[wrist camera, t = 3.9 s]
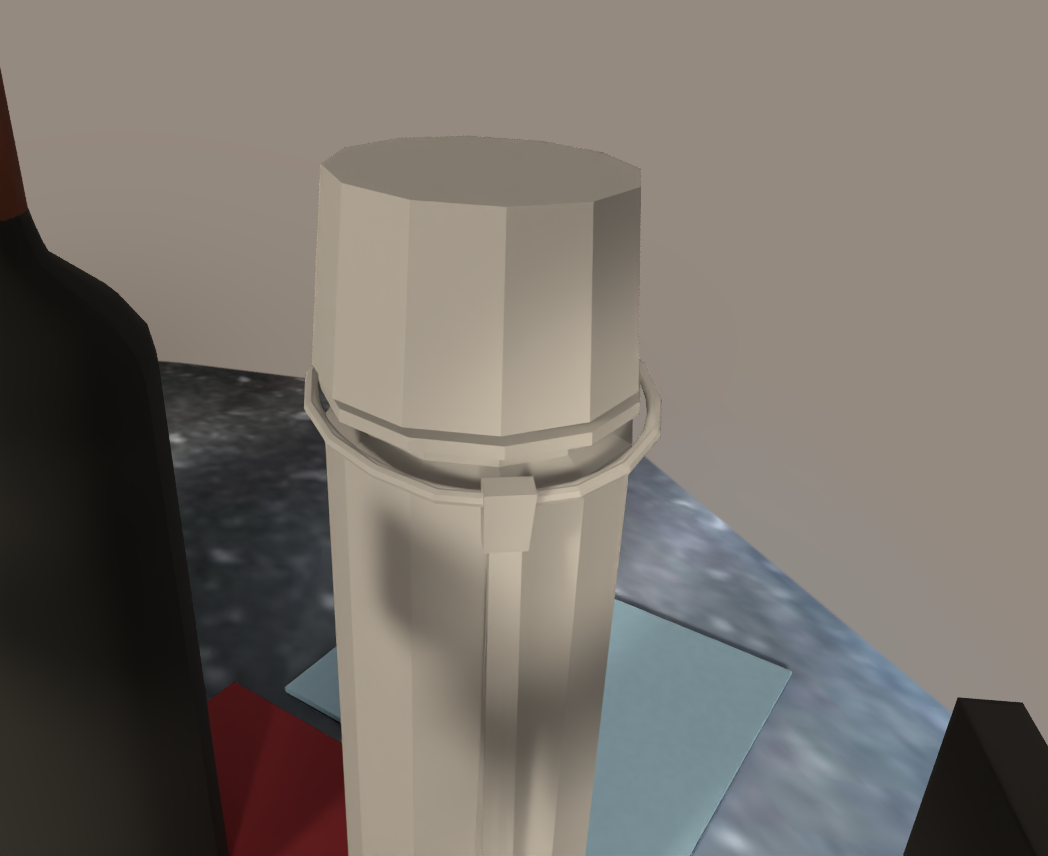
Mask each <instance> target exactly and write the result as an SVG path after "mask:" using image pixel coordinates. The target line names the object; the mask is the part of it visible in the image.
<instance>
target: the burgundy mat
mask: <svg viewBox="0 0 1048 856" xmlns="http://www.w3.org/2000/svg"><path fill="white" fill-rule="evenodd" d="M207 706H208V713H209V720H210V727H211V734H212V741H213V748H214V755H215V762H216V769H217V776H218V783H219V790H220V797H221V804H222V811H223V818H224V825H225V832H226V839H227V846H228V853H229V856H348V838H347V820H346V803H345V785H344V767H343V749H342V743H340V742H339V741H337V740H335V739H333V738H332V737H330V736H328V735H326V734H325V733H323V732H321V731H319V730H318V729H316V728H314V727H312V726H311V725H309V724H307V723H305V722H304V721H302V720H300V719H299V718H297V717H295V716H293V715H292V714H290V713H288V712H286V711H285V710H283V709H281V708H279V707H278V706H276V705H274V704H272V703H271V702H269V701H267V700H265V699H264V698H262V697H260V696H259V695H257V694H255V693H253V692H252V691H250V690H248V689H246V688H245V687H243V686H241V685H239V684H238V683H236V682H233V683H232V684H231V685H229V686H228V687H226V688H225V689H224V690H222V691H221V692H220V693H218V694H217V695H216V696H214V697H213V698H212V699H210V700H209V701H208V702H207Z"/></svg>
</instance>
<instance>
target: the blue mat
mask: <svg viewBox="0 0 1048 856" xmlns="http://www.w3.org/2000/svg"><path fill="white" fill-rule="evenodd" d="M791 674H792V671H790V670H787V669H785V668H783V667H780V666H778V665H775V664H773V663H770V662H768V661H765V660H763V659H761V658H758V657H756V656H753V655H751V654H748V653H746V652H744V651H741V650H739V649H736V648H734V647H731V646H729V645H726V644H724V643H722V642H719V641H717V640H714V639H712V638H709V637H707V636H704V635H702V634H700V633H697V632H695V631H692V630H690V629H687V628H685V627H682V626H680V625H678V624H675V623H673V622H670V621H668V620H665V619H663V618H661V617H658V616H656V615H653V614H651V613H648V612H646V611H643V610H641V609H639V608H636V607H634V606H631V605H629V604H626V603H624V602H621V601H619V600H617V599H614V608H613V617H612V625H611V634H610V643H609V652H608V660H607V669H606V678H605V687H604V696H603V704H602V713H601V722H600V731H599V739H598V748H597V757H596V766H595V774H594V783H593V792H592V801H591V809H590V818H589V827H588V836H587V845H586V853H585V856H690V855H691V853H692V851H693V850H694V848H695V846H696V844H697V843H698V841H699V839H700V837H701V835H702V834H703V832H704V830H705V828H706V827H707V825H708V823H709V821H710V819H711V818H712V816H713V814H714V812H715V811H716V809H717V807H718V805H719V803H720V802H721V800H722V798H723V796H724V795H725V793H726V791H727V789H728V787H729V786H730V784H731V782H732V780H733V779H734V777H735V775H736V773H737V771H738V770H739V768H740V766H741V764H742V763H743V761H744V759H745V757H746V755H747V754H748V752H749V750H750V748H751V746H752V745H753V743H754V741H755V739H756V738H757V736H758V734H759V732H760V730H761V729H762V727H763V725H764V723H765V722H766V720H767V718H768V716H769V714H770V713H771V711H772V709H773V707H774V706H775V704H776V702H777V700H778V698H779V697H780V695H781V693H782V691H783V690H784V688H785V686H786V684H787V682H788V681H789V679H790V677H791ZM285 691H286V692H287V693H289V694H290V695H292V696H294V697H296V698H298V699H299V700H301V701H303V702H305V703H306V704H308V705H310V706H312V707H314V708H315V709H317V710H319V711H321V712H322V713H324V714H326V715H328V716H330V717H331V718H333V719H335V720H337V721H338V722H340V723H341V713H340V695H339V677H338V659H337V646H336V647H335V648H334V649H332V650H331V651H330V652H329V653H327V654H326V655H325V656H324V657H322V658H321V659H320V660H319V661H317V662H316V663H315V664H313V665H312V666H311V667H310V668H308V669H307V670H306V671H305V672H303V673H302V674H301V675H299V676H298V677H297V678H296V679H294V680H293V681H292V682H291V683H289V684H288V685H287V686H285Z"/></svg>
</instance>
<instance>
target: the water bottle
mask: <svg viewBox="0 0 1048 856" xmlns="http://www.w3.org/2000/svg"><path fill="white" fill-rule="evenodd" d="M640 209H641V169H640V168H638V167H636V166H633V165H631V164H629V163H626V162H624V161H622V160H619V159H617V158H615V157H612V156H610V155H608V154H605V153H603V152H598V151H592V150H587V149H582V148H577V147H570V146H565V145H560V144H555V143H549V142H544V141H534V140H521V139H506V138H491V137H477V136H451V137H417V138H397V139H390V140H385V141H379V142H373V143H367V144H362V145H356V146H350V147H345V148H343V149H341V150H340V151H339V152H337V153H336V154H334V155H333V156H331V157H330V158H328V159H327V160H325V161H324V162H322V163H321V164H320V186H319V208H318V230H317V253H316V275H315V297H314V319H313V342H312V364H313V365H312V366H311V367H310V368H309V369H308V370H307V373H306V375H305V399H304V409H305V411H306V412H307V414H308V416H309V417H310V419H311V420H312V422H313V423H314V425H315V426H316V428H317V429H318V431H319V433H320V434H321V436H322V437H323V439H324V440H325V445H326V463H327V481H328V499H329V516H330V534H331V552H332V570H333V588H334V606H335V624H336V642H337V659H338V677H339V695H340V713H341V731H342V749H343V767H344V785H345V803H346V820H347V838H348V856H585V853H586V845H587V836H588V827H589V818H590V809H591V801H592V792H593V783H594V774H595V766H596V757H597V748H598V739H599V731H600V722H601V713H602V704H603V696H604V687H605V678H606V669H607V660H608V652H609V643H610V634H611V625H612V617H613V608H614V599H615V590H616V582H617V573H618V564H619V555H620V547H621V538H622V529H623V520H624V511H625V503H626V494H627V485H628V476H629V473H630V472H631V471H632V470H633V469H634V467H635V466H636V465H637V464H638V463H639V462H640V460H641V459H642V458H643V457H644V456H645V455H646V453H647V452H648V451H649V450H650V449H651V447H652V446H653V445H654V444H655V443H656V442H657V440H658V439H659V438H660V433H661V405H662V404H661V403H662V402H661V401H662V400H661V397H660V394H659V392H658V390H657V388H656V385H655V383H654V381H653V379H652V377H651V375H650V373H649V371H648V368H647V366H646V364H645V363H644V362H642V361H641V360H640V359H639V296H640V295H639V294H640V292H639V291H640V288H639V287H640V212H641V211H640ZM640 384H641V386H642V389H643V392H644V395H645V398H646V406H647V417H646V421H645V425H644V429H643V431H642V433H641V434H640V436H639V437H638V439H637V440H636V442H635V443H634V445H633V446H632V421H633V418H634V417H635V416H637V415H638V414H639V409H640ZM319 386H320V388H321V390H322V392H323V394H324V395H325V397H326V399H327V401H328V402H329V404H330V408H329V409H328V411H327V412H326V413H325V412H324V410H323V408H322V406H321V403H320V396H319Z"/></svg>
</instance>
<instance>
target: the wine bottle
mask: <svg viewBox="0 0 1048 856" xmlns="http://www.w3.org/2000/svg"><path fill="white" fill-rule="evenodd" d="M0 856H229V853H228V846H227V839H226V832H225V825H224V818H223V811H222V804H221V797H220V790H219V783H218V776H217V769H216V762H215V755H214V748H213V741H212V734H211V727H210V720H209V713H208V706H207V699H206V692H205V685H204V678H203V671H202V664H201V657H200V650H199V643H198V636H197V629H196V622H195V615H194V608H193V601H192V594H191V587H190V580H189V573H188V566H187V559H186V552H185V545H184V538H183V531H182V524H181V517H180V510H179V503H178V496H177V489H176V482H175V475H174V468H173V461H172V454H171V447H170V440H169V433H168V426H167V419H166V412H165V405H164V398H163V391H162V384H161V377H160V370H159V364H158V358H157V353H156V349H155V346H154V344H153V340H152V337H151V334H150V331H149V328H148V325H147V323H145V321H144V320H143V319H142V318H141V317H140V316H139V315H138V314H137V313H136V312H135V311H134V310H133V309H132V308H131V307H130V306H129V304H128V303H127V302H126V301H125V300H124V299H123V298H122V297H121V296H120V295H119V294H118V293H117V292H115V291H114V290H113V289H112V288H110V287H109V286H108V285H106V284H105V283H104V282H102V281H100V280H98V279H97V278H95V277H93V276H91V275H90V274H88V273H86V272H84V271H83V270H81V269H79V268H77V267H76V266H74V265H72V264H70V263H69V262H67V261H65V260H63V259H62V258H60V257H58V256H56V255H55V254H53V253H51V252H49V251H48V249H47V248H46V246H45V244H44V243H43V241H42V239H41V237H40V235H39V232H38V230H37V228H36V226H35V224H34V221H33V219H32V217H31V214H30V212H29V209H28V207H27V202H26V197H25V192H24V187H23V182H22V177H21V171H20V166H19V161H18V156H17V151H16V146H15V141H14V136H13V131H12V126H11V120H10V115H9V111H8V105H7V100H6V95H5V90H4V85H3V79H2V74H1V69H0Z"/></svg>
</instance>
